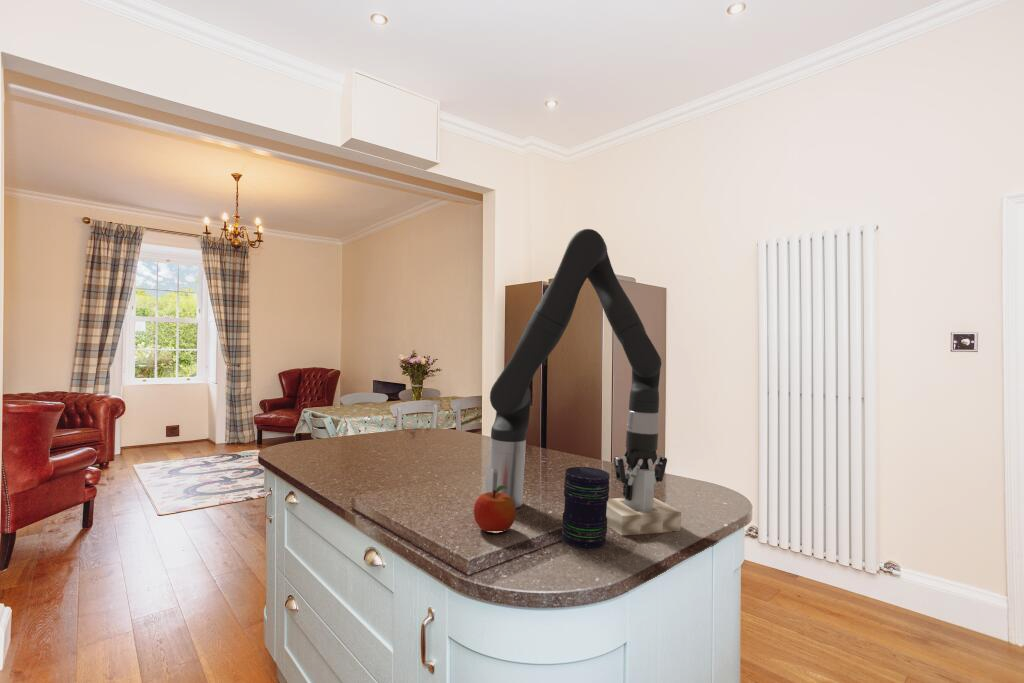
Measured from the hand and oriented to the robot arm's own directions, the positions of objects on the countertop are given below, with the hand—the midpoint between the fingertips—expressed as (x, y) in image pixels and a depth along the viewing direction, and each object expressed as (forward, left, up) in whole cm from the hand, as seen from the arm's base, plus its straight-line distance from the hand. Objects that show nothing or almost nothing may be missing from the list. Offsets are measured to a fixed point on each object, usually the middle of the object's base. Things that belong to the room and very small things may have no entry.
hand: (638, 498), depth 123 cm
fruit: (-36, +2, -6) cm, 37 cm away
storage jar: (-18, -7, -6) cm, 20 cm away
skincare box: (0, 0, -5) cm, 5 cm away
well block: (0, 0, -6) cm, 6 cm away
